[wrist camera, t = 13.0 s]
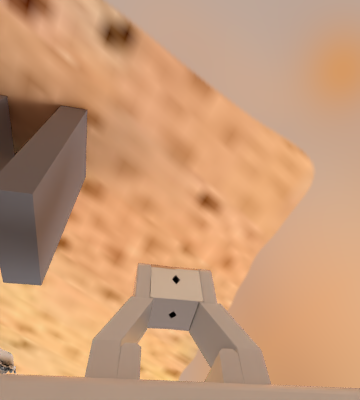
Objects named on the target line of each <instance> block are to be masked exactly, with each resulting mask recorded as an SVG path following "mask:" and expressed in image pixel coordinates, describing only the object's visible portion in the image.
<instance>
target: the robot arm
mask: <svg viewBox="0 0 360 400" xmlns="http://www.w3.org/2000/svg"><path fill="white" fill-rule="evenodd" d="M147 328H160V329H175V330H185V331H189V333H190V335H191V336H192V338H193V339H194V341H195V343H196V344H197V346H198V348H199V349H200V351H201V353H202V354H203V356H204V358H205V359H206V361H207V362H208V364H209V366H210V367H211V369H210V372H209V373H208V375H207V377H206V379H205V381H204V382H188V381H164V380H139V378H140V358H141V347H140V346H139V345H138V344H137V343H138V342H139V340H140V339H141V337H142V336H143V335H144V333H145V332H146V330H147ZM0 400H360V388H359V389H358V388H335V387H311V386H286V385H285V386H284V385H271V382H270V379H269V375H268V372H267V368H266V365H265V361H264V358H263V355H262V351H261V349H260V348H259V347H258V346H257V345H256V344H255V342H254V341H253V340H252V339H251V338H250V337H249V336H248V334H247V333H246V332H245V331H244V330H243V329H242V328H241V326H240V325H239V324H238V323H237V322H236V321H235V320H234V318H232V316H231V315H230V314H229V313H228V312H227V310H226V309H225V308H224V307H223V306H222V305H221V304H217V300H216V294H215V289H214V284H213V279H212V274H211V271H210V270H201V269H190V268H179V267H168V266H160V265H152V264H151V265H150V264H143V263H138V267H137V273H136V278H135V284H134V291H133V296H131V297H130V299H129V300H128V301H127V302H126V303H125V304H124V305H123V306H122V307H121V309H120V310H119V311H118V312H117V313H116V314H115V315H114V316H113V318H112V319H111V320H110V321H109V322H108V323H107V324H106V325H105V326H104V328H103V329H102V330H101V331H100V332H99V333H98V334H97V335H96V336H95V338H94V339H93V341H92V346H91V350H90V355H89V360H88V364H87V369H86V374H85V377H66V376H42V375H18V374H0Z"/></svg>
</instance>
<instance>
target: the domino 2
mask: <svg viewBox="0 0 360 400" xmlns="http://www.w3.org/2000/svg"><path fill="white" fill-rule="evenodd" d="M86 138H87V110H85V109H79V108H73V107H67V106H60V107H59V108H58V110H57V111H56V112H55V113H54V114H53V115H52V116H51V117H50V118H49V119H48V120H47V121H46V123H45V124H44V125H43V126H42V127H41V128H40V129H39V130H38V131H37V132H36V133H35V134H34V135H33V137H32V138H31V139H30V140H29V141H28V142H27V143H26V144H25V145H24V146H23V147H22V148H21V149H20V151H19V152H18V153H17V154H16V155H15V156H14V157H13V158H12V159H11V160H10V161H9V162H8V164H7V165H6V166H5V167H4V168H3V169H2V170H1V171H0V268H1V273H2V278H3V283H17V284H31V285H42V282H43V280H44V277H45V275H46V272H47V270H48V268H49V265H50V263H51V260H52V258H53V255H54V253H55V250H56V248H57V246H58V243H59V241H60V238H61V236H62V233H63V231H64V228H65V226H66V224H67V221H68V219H69V216H70V214H71V211H72V209H73V206H74V204H75V202H76V199H77V197H78V194H79V192H80V189H81V187H82V184H83V182H84V180H85V177H86Z"/></svg>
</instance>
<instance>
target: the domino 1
mask: <svg viewBox="0 0 360 400" xmlns="http://www.w3.org/2000/svg"><path fill="white" fill-rule="evenodd" d="M14 156H15V155H14V147H13V139H12V131H11V123H10V115H9V107H8V99H7V96H2V95H0V171H1V170H2V169H3V168H4V167H5V166H6V165H7V164H8V162H9V161H10V160H11V159H12V158H13V157H14Z"/></svg>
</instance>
